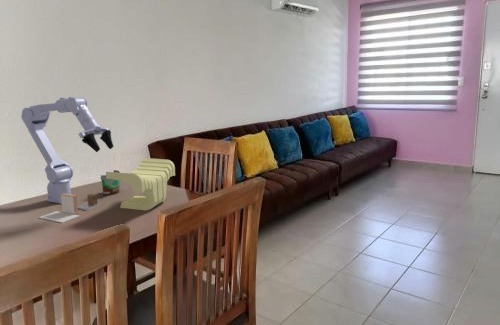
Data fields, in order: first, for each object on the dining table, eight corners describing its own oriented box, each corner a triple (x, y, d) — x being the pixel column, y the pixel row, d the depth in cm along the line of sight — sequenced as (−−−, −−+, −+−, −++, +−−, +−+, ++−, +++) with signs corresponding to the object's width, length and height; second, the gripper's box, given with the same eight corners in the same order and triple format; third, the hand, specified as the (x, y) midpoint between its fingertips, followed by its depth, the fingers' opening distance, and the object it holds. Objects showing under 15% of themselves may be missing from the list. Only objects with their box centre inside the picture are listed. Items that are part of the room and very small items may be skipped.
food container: (113, 196, 185) (112, 176, 183) (101, 196, 186) (100, 175, 184) (126, 189, 197) (125, 170, 195) (115, 189, 198) (114, 169, 196)
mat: (38, 217, 156) (38, 217, 156) (56, 211, 163) (56, 211, 163) (62, 223, 151) (62, 222, 151) (79, 216, 158) (79, 215, 158)
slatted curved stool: (143, 217, 158) (141, 174, 154) (108, 213, 162) (105, 171, 158) (175, 196, 186) (174, 160, 183) (145, 194, 190) (143, 158, 187)
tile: (62, 212, 162) (60, 194, 161) (65, 211, 164) (64, 193, 162) (74, 215, 160) (73, 196, 158) (78, 214, 161) (76, 195, 160)
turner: (89, 204, 175) (89, 193, 174) (100, 205, 173) (99, 194, 172) (75, 209, 168) (74, 197, 167) (86, 211, 166) (85, 199, 165)
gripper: (79, 118, 156) (97, 146, 155) (106, 115, 169) (122, 141, 168) (70, 128, 159) (87, 156, 158) (96, 124, 172) (113, 150, 171)
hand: (105, 149), depth 163 cm, fingers open, 7 cm apart
